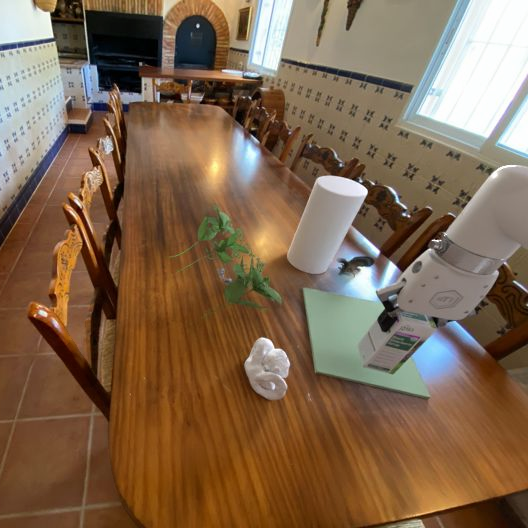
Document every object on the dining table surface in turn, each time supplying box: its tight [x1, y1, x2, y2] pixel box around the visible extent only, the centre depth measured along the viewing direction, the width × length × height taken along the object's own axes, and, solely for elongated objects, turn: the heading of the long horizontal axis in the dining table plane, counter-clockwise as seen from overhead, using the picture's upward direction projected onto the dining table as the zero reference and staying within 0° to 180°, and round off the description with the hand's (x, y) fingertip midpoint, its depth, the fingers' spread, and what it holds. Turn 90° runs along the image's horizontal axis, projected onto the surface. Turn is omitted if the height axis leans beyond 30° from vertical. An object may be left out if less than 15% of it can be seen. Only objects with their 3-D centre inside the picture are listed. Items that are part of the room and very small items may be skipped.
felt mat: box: [302, 286, 432, 400], centre depth 70 cm, size 22×26×1 cm
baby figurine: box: [243, 337, 291, 401], centre depth 59 cm, size 9×12×8 cm
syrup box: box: [358, 304, 438, 374], centre depth 57 cm, size 6×6×14 cm
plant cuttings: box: [168, 205, 283, 326], centre depth 74 cm, size 35×17×22 cm
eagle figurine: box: [336, 255, 375, 278], centre depth 87 cm, size 8×7×9 cm
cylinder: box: [286, 175, 368, 275], centre depth 84 cm, size 12×12×25 cm
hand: (400, 329), depth 55 cm, fingers closed on syrup box, 5 cm apart
